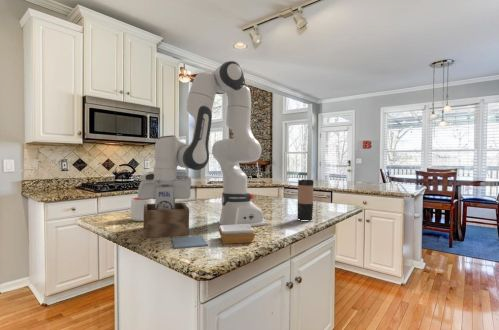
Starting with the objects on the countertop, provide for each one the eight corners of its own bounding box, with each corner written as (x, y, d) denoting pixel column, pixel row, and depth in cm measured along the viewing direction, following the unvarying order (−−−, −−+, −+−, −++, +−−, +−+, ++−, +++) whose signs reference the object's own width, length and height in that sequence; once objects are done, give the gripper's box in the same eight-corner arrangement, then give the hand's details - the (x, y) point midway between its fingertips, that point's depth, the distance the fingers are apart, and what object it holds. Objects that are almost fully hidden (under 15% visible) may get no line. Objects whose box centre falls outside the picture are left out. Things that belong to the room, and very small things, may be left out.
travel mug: (314, 222, 136) (315, 180, 136) (298, 221, 137) (299, 180, 136) (310, 218, 144) (311, 179, 144) (295, 218, 144) (296, 179, 144)
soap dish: (249, 236, 109) (250, 223, 109) (255, 244, 100) (256, 229, 99) (217, 237, 107) (218, 224, 106) (220, 245, 97) (220, 231, 97)
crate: (183, 225, 124) (183, 202, 124) (188, 234, 109) (189, 209, 108) (143, 227, 118) (144, 203, 118) (143, 238, 103) (143, 210, 103)
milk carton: (175, 228, 117) (175, 180, 117) (173, 233, 111) (173, 182, 110) (157, 229, 116) (157, 180, 116) (154, 233, 110) (155, 182, 109)
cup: (126, 219, 133) (126, 198, 132) (145, 216, 141) (145, 196, 141) (139, 222, 127) (139, 200, 127) (157, 219, 135) (158, 198, 135)
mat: (201, 237, 106) (201, 235, 106) (207, 245, 96) (207, 244, 96) (171, 239, 102) (171, 237, 102) (174, 248, 92) (174, 247, 92)
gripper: (190, 175, 119) (189, 208, 120) (138, 174, 113) (137, 209, 113) (192, 176, 114) (191, 210, 114) (138, 175, 107) (137, 212, 107)
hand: (164, 210), depth 113 cm, fingers closed
